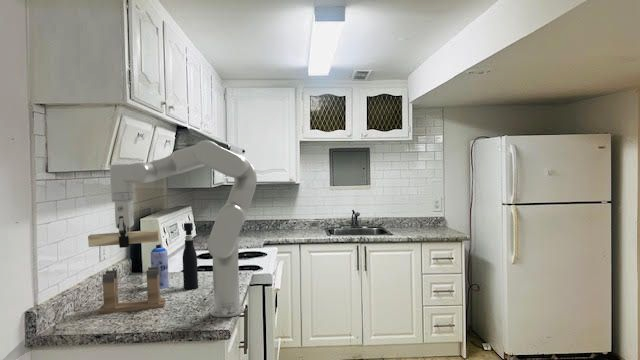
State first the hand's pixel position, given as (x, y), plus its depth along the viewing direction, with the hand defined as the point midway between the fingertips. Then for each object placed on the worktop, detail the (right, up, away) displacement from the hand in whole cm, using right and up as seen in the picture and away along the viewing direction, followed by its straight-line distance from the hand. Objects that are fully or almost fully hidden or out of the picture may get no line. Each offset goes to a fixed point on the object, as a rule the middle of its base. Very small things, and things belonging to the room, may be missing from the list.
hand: (125, 245), depth 167 cm
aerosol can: (-2, -26, +44) cm, 51 cm away
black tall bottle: (+13, -26, +40) cm, 49 cm away
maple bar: (0, +1, 0) cm, 1 cm away
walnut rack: (-2, -27, +13) cm, 30 cm away
